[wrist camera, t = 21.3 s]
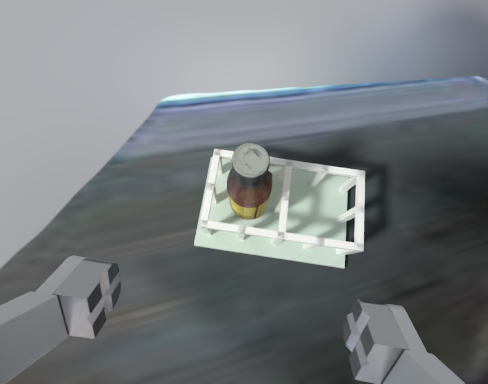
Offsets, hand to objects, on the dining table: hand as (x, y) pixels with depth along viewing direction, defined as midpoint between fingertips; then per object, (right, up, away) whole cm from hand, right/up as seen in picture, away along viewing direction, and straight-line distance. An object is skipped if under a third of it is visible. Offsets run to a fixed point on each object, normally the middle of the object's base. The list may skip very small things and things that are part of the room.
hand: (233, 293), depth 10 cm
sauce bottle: (+1, +1, +39) cm, 39 cm away
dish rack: (+6, 0, +39) cm, 40 cm away
